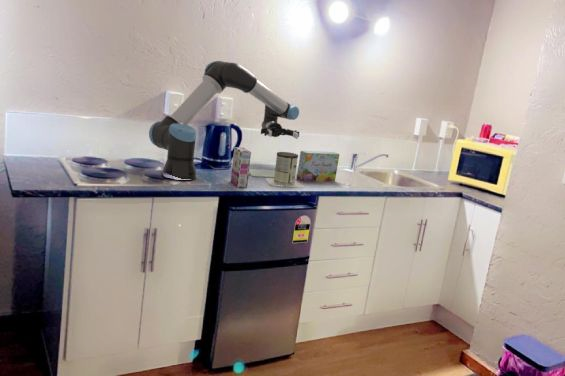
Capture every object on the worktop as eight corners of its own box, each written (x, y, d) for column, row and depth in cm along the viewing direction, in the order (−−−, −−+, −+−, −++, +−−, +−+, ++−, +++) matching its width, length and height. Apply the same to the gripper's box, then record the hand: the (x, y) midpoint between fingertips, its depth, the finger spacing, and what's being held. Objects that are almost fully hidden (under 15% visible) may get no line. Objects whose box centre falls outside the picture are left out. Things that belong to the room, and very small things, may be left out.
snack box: (302, 182, 245) (306, 152, 241) (296, 179, 249) (299, 150, 246) (335, 181, 256) (340, 153, 252) (329, 179, 260) (333, 151, 257)
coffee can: (274, 178, 243) (278, 150, 240) (295, 181, 242) (299, 153, 239) (272, 183, 233) (275, 153, 230) (293, 186, 232) (297, 156, 229)
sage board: (252, 176, 242) (252, 175, 242) (246, 169, 257) (246, 168, 257) (283, 178, 247) (283, 177, 246) (275, 171, 261) (275, 170, 261)
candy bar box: (247, 188, 217) (251, 151, 214) (236, 187, 216) (240, 151, 212) (240, 182, 228) (244, 147, 224) (230, 181, 226) (233, 146, 222)
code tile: (271, 185, 228) (271, 185, 228) (264, 178, 243) (264, 177, 243) (304, 187, 232) (304, 187, 232) (295, 179, 247) (295, 179, 247)
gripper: (295, 137, 267) (307, 144, 247) (250, 134, 260) (258, 140, 240) (297, 124, 265) (308, 129, 245) (251, 120, 258) (260, 125, 239)
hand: (284, 135), depth 243 cm, fingers open, 13 cm apart
